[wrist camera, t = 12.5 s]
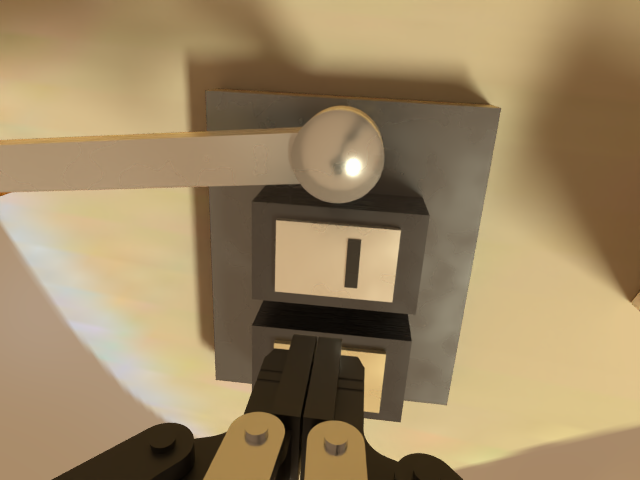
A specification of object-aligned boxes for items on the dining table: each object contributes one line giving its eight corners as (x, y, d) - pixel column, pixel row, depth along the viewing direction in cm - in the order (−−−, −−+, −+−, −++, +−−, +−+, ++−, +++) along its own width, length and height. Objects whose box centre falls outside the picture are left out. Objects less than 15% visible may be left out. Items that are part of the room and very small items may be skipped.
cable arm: (382, 103, 17) (384, 108, 15) (383, 188, 18) (384, 201, 16) (-46, 123, 19) (-91, 130, 17) (-22, 198, 20) (-62, 212, 18)
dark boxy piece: (217, 88, 24) (166, 96, 18) (490, 104, 23) (533, 119, 17) (225, 360, 30) (188, 435, 24) (441, 383, 29) (460, 467, 23)
